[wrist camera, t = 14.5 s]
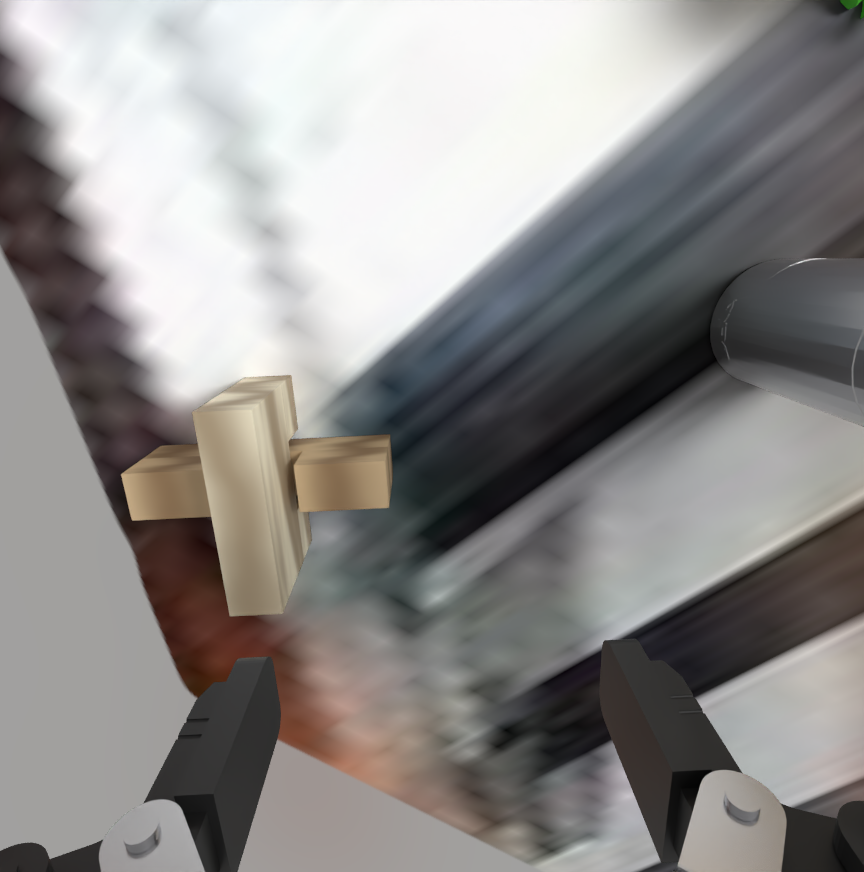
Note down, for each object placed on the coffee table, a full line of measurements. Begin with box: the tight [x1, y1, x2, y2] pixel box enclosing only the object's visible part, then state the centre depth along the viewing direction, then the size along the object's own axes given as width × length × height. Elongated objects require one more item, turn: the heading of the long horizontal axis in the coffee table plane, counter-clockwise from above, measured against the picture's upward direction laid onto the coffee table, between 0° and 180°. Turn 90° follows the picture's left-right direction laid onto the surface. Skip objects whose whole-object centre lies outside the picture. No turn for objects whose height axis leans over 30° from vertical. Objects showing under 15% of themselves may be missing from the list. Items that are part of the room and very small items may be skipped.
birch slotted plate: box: [192, 375, 312, 616], centre depth 39 cm, size 4×14×10 cm, turn 3°
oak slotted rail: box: [121, 434, 393, 521], centre depth 40 cm, size 18×4×6 cm, turn 93°
